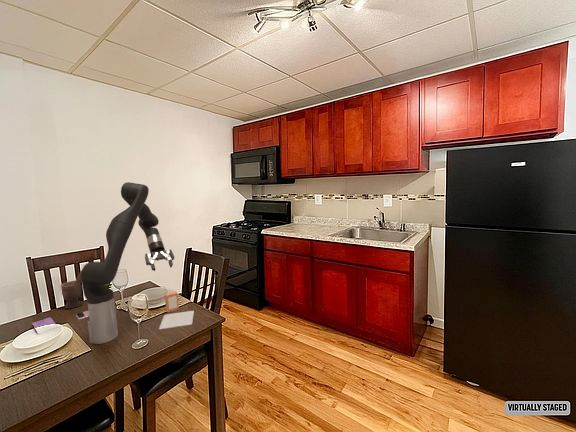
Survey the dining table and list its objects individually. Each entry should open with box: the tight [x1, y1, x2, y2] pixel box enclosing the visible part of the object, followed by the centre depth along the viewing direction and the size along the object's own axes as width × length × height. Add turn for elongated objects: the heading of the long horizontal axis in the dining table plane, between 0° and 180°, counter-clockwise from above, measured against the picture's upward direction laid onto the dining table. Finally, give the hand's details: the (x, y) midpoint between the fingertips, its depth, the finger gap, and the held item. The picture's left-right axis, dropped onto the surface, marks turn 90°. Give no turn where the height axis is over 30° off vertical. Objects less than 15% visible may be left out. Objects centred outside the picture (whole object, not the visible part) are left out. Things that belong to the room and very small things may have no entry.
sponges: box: [31, 317, 56, 329], centre depth 126 cm, size 7×13×2 cm, turn 52°
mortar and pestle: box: [60, 269, 83, 309], centre depth 147 cm, size 12×9×20 cm
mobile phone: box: [75, 310, 89, 320], centre depth 139 cm, size 8×1×15 cm
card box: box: [164, 291, 180, 314], centre depth 138 cm, size 3×6×9 cm, turn 130°
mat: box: [158, 310, 195, 331], centre depth 129 cm, size 14×14×1 cm
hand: (163, 268), depth 146 cm, fingers open, 8 cm apart
